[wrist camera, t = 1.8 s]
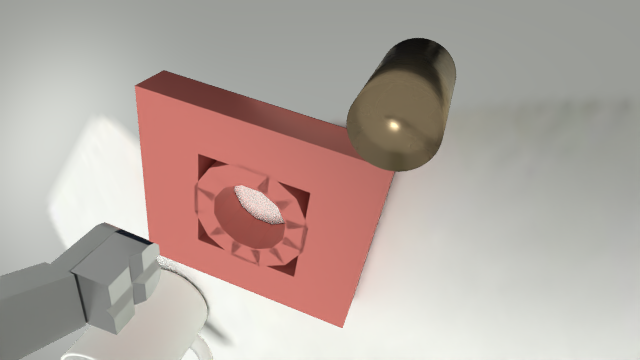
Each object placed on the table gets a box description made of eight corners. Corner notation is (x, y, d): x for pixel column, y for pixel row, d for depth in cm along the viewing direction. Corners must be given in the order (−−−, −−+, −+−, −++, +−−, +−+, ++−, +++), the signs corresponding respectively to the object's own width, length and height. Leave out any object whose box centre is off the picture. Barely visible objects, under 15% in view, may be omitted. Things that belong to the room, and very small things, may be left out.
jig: (403, 146, 27) (394, 170, 25) (352, 299, 36) (342, 328, 33) (163, 70, 30) (134, 85, 27) (171, 229, 39) (150, 251, 36)
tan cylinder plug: (467, 50, 23) (458, 100, 17) (441, 119, 25) (425, 183, 20) (390, 28, 24) (357, 70, 18) (372, 99, 26) (338, 154, 20)
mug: (253, 333, 43) (196, 435, 35) (212, 355, 48) (154, 449, 40) (160, 253, 41) (77, 341, 33) (127, 284, 46) (48, 369, 38)
